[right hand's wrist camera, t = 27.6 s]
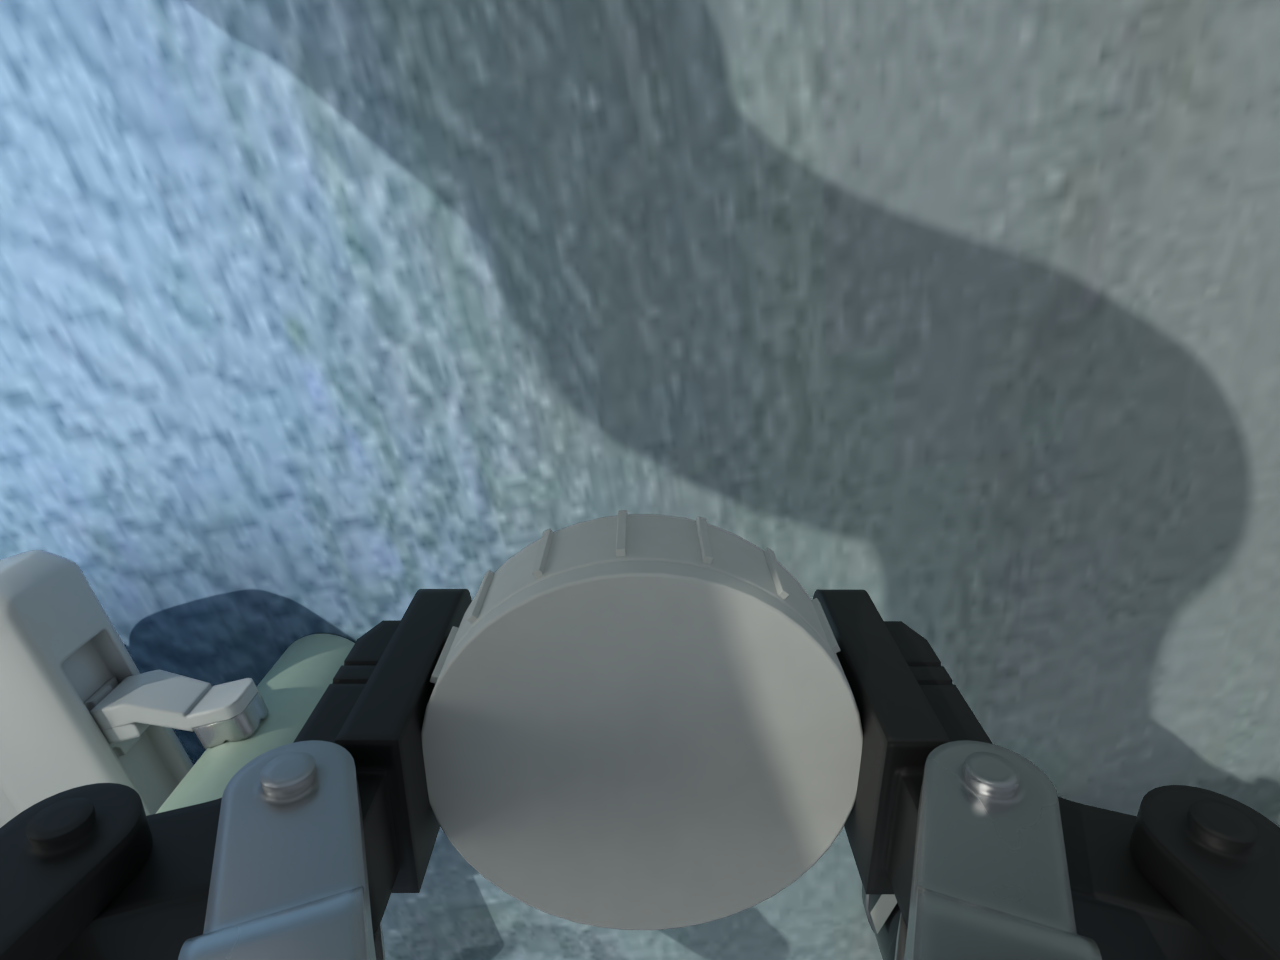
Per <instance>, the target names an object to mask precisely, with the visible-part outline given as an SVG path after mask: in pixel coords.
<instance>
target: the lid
mask: <svg viewBox="0 0 1280 960" xmlns="http://www.w3.org/2000/svg"><path fill="white" fill-rule="evenodd" d="M839 651H840V648H839V646H838V643H837V641H836V639H835V637H834V634H833V632H832V630H831V627H830V625H829V623H828V620H827V618H826V616H825V613H824V611H823V609H822V606H821V604H820V602H819V601H818V599H817V598H815V599H813V600H811V598H810V597H809V596H808V594H807V593H806V592H805V590H804V589H803V588H802V586H801V585H800V584H799V583H798V581H797V580H796V579H795V578H794V577H793V576H792V575H791V574H790V573H789V572H788V571H787V570H786V569H785V568H784V567H783V566H782V565H781V564H780V563H779V562H778V561H777V560H776V557H775V554H774V552H773V551H772V550H770V549H769V548H767V549H766V550H765V551H763V550H762V549H760V548H759V547H757V546H755V545H754V544H752V543H750V542H748V541H746V540H745V539H743V538H741V537H739V536H737V535H735V534H733V533H730V532H728V531H725V530H723V529H720V528H718V527H715V526H713V525H710V524H707V523H706V519H705V518H702V517H697V520H696V521H694V520H690V519H687V518H680V517H673V516H665V515H654V514H629V515H627V510H623V511H619V512H618V516H610V517H603V518H598V519H594V520H590V521H585V522H581V523H577V524H574V525H572V526H569V527H566V528H564V529H561V530H558V531H555V532H552V531H551V529H548V530H546V531H544V532H543V535H542V538H541V539H539V540H537V541H535V542H533V543H532V544H530V545H528V546H527V547H525V548H524V549H523V550H521V551H520V552H518V553H517V554H515V555H514V556H512V557H511V558H510V559H508V560H507V561H506V562H505V563H504V564H503V565H502V566H501V567H500V568H499V569H498V570H497V571H495V572H494V573H493V572H492V571H490V570H489V571H488V572H487V573H486V574H485V575H484V578H483V580H482V583H481V585H480V588H479V590H478V592H477V594H476V595H475V597H474V599H473V600H472V602H471V604H470V605H469V607H468V609H467V610H466V612H465V614H464V616H463V619H462V621H461V624H460V626H459V628H458V627H455V626H453V627H452V629H451V631H450V634H449V636H448V638H447V641H446V643H445V645H444V648H443V650H442V653H441V655H440V657H439V660H438V662H437V664H436V667H435V669H434V671H433V674H432V676H431V679H430V682H431V683H434V684H435V687H434V689H433V692H432V694H431V697H430V699H429V702H428V704H427V707H426V711H425V715H424V720H423V724H422V729H421V738H422V748H423V757H424V765H425V773H426V781H427V789H428V796H429V802H430V805H431V808H432V810H433V812H434V814H435V817H436V819H437V821H438V823H439V825H440V826H441V828H442V829H443V831H444V833H445V834H446V836H447V837H448V839H449V841H450V842H451V843H452V845H453V846H454V847H455V848H456V849H457V851H458V852H459V853H460V854H461V855H462V857H463V858H464V859H465V860H466V861H467V862H468V863H469V864H470V865H471V866H472V867H473V868H474V869H476V870H477V871H478V872H479V873H480V874H481V875H482V876H483V877H484V878H486V879H487V880H488V881H490V882H491V883H493V884H494V885H495V886H497V887H498V888H500V889H501V890H502V891H504V892H505V893H507V894H509V895H511V896H512V897H514V898H516V899H518V900H520V901H521V902H523V903H525V904H527V905H529V906H532V907H534V908H536V909H539V910H541V911H543V912H546V913H548V914H551V915H554V916H557V917H560V918H563V919H567V920H570V921H573V922H577V923H582V924H587V925H592V926H597V927H603V928H613V929H622V930H660V929H672V928H681V927H686V926H692V925H697V924H703V923H707V922H710V921H714V920H717V919H721V918H724V917H728V916H730V915H733V914H735V913H738V912H740V911H743V910H745V909H748V908H750V907H753V906H755V905H757V904H758V903H760V902H762V901H764V900H766V899H768V898H770V897H772V896H774V895H775V894H777V893H778V892H780V891H781V890H783V889H784V888H786V887H787V886H789V885H790V884H792V883H793V882H795V881H796V880H797V879H798V878H799V877H800V876H802V875H803V874H804V873H805V872H806V871H807V870H809V869H810V868H811V867H812V866H813V865H814V864H815V863H816V862H817V861H818V860H819V859H820V857H821V856H822V855H823V854H824V853H825V852H826V851H827V850H828V849H829V847H830V846H831V845H832V843H833V842H834V840H835V839H836V837H837V836H838V834H839V833H840V831H841V830H842V828H843V827H844V825H845V823H846V821H847V818H848V816H849V814H850V812H851V810H852V808H853V806H854V803H855V799H856V792H857V786H858V778H859V770H860V762H861V754H862V745H863V730H862V724H861V719H860V713H859V710H858V707H857V704H856V702H855V699H854V696H853V693H852V690H851V688H850V686H849V683H848V681H847V678H846V676H845V674H844V671H843V669H842V666H841V664H840V662H839V659H838V657H837V655H836V653H837V652H839Z"/></svg>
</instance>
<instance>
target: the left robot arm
mask: <svg viewBox="0 0 1280 960" xmlns="http://www.w3.org/2000/svg"><path fill="white" fill-rule="evenodd" d="M268 712H269V711H268V708H267V706H266V704H265V702H264V700H263V698H262V696H261V694H260V692H259V690H257V688H256V685H255V683H254V681H253V679H252V678H245V679H240V680H236V681H232V682H227V683H223V684H219V685H214V686H212V685H211V683H208V682H204V681H201V680H197V679H193V678H190V677H186V676H182V675H179V674H175V673H171V672H168V671H164V670H160V669H157V670H153V671H149V672H145V673H140V672H139V670H138V668H137V666H136V665H135V663H134V661H133V659H132V658H131V656H130V654H129V653H128V651H127V649H126V647H125V646H124V644H123V642H122V640H121V639H120V637H119V635H118V634H117V632H116V630H115V628H114V627H113V625H112V623H111V621H110V620H109V618H108V616H107V615H106V613H105V611H104V609H103V608H102V606H101V604H100V602H99V601H98V599H97V597H96V596H95V594H94V592H93V590H92V589H91V587H90V585H89V583H88V581H87V580H86V578H85V576H84V574H83V572H82V571H81V569H80V568H79V566H78V565H77V564H76V563H75V562H73V561H71V560H69V559H66V558H64V557H61V556H58V555H55V554H52V553H49V552H46V551H43V550H32V551H28V552H24V553H20V554H17V555H14V556H11V557H8V558H5V559H2V560H0V828H1V827H2V826H3V825H5V824H6V823H7V822H9V821H10V820H11V819H13V818H14V817H15V816H17V815H18V814H20V813H21V812H22V811H24V810H26V809H27V808H29V807H31V806H32V805H34V804H36V803H38V802H40V801H42V800H44V799H46V798H48V797H51V796H53V795H55V794H58V793H60V792H63V791H66V790H69V789H72V788H76V787H80V786H84V785H90V784H96V783H118V784H122V785H126V786H129V787H131V788H132V789H134V790H135V791H136V792H137V793H138V794H139V796H140V798H141V800H142V803H143V807H144V810H145V814H146V816H148V815H152V814H155V813H156V812H157V811H158V810H159V808H160V807H161V806H162V805H163V803H164V802H165V801H166V800H167V798H168V797H169V796H170V795H171V793H172V792H173V791H174V790H175V788H176V787H177V786H178V785H179V783H180V782H181V781H182V780H183V778H184V777H185V776H186V775H187V773H188V772H189V771H190V769H191V768H192V767H193V766H194V765H193V763H192V761H191V760H190V758H189V756H188V754H187V753H186V751H185V749H184V748H183V746H182V744H181V742H180V741H179V739H178V737H177V735H176V734H175V732H174V730H173V729H172V728H174V729H180V730H186V731H192V732H193V731H194V732H195V734H196V735H197V737H198V739H199V740H200V742H201V743H202V745H203V747H204V748H205V749H207V748H211V747H216V746H219V745H222V744H223V743H224V742H225V741H230V742H238V741H241V740H244V739H246V738H248V737H249V736H251V735H252V734H253V733H255V731H256V730H257V729H258V728H259V725H260V720H261V719H265V718H266V716H267V715H268Z"/></svg>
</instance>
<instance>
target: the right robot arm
mask: <svg viewBox="0 0 1280 960" xmlns="http://www.w3.org/2000/svg"><path fill="white" fill-rule="evenodd" d="M815 598H817V599H818V601H819V602H820V604H821V606H822V609H823V611H824V613H825V616H826V618H827V620H828V623H829V625H830V627H831V630H832V632H833V634H834V637H835V639H836V641H837V643H838V646H839V648H840V651H839V652H837V653H836V655H837V657H838V659H839V662H840V664H841V666H842V669H843V671H844V674H845V676H846V678H847V681H848V683H849V686H850V688H851V690H852V693H853V696H854V699H855V702H856V704H857V707H858V710H859V713H860V719H861V724H862V730H863V745H862V754H861V762H860V770H859V778H858V786H857V792H856V799H855V803H854V806H853V808H852V810H851V812H850V814H849V816H848V818H847V821H846V823H845V825H844V827H845V830H846V833H847V836H848V839H849V843H850V846H851V849H852V852H853V855H854V858H855V861H856V864H857V868H858V871H859V874H860V877H861V880H862V883H863V885H862V899H863V904H864V908H865V911H866V914H867V918H868V921H869V923H870V926H871V928H872V930H873V932H874V933H875V936H876V939H877V942H878V945H879V949H880V952H881V955H882V958H883V960H1280V828H1279V827H1278V826H1277V825H1275V824H1274V823H1273V822H1271V821H1270V820H1268V819H1267V818H1266V817H1264V816H1263V815H1261V814H1260V813H1258V812H1257V811H1255V810H1253V809H1252V808H1250V807H1248V806H1246V805H1244V804H1242V803H1240V802H1238V801H1236V800H1234V799H1231V798H1229V797H1227V796H1224V795H1221V794H1218V793H1215V792H1212V791H1209V790H1205V789H1201V788H1197V787H1190V786H1181V785H1170V786H1162V787H1158V788H1155V789H1153V790H1151V791H1149V792H1148V793H1147V794H1146V795H1145V796H1144V798H1143V800H1142V802H1141V805H1140V809H1139V812H1138V815H1137V817H1136V816H1132V815H1127V814H1123V813H1118V812H1114V811H1110V810H1105V809H1101V808H1097V807H1092V806H1088V805H1083V804H1080V803H1076V802H1072V801H1069V800H1066V799H1063V798H1060V797H1058V796H1057V792H1056V790H1055V788H1054V786H1053V784H1052V782H1051V781H1050V780H1049V778H1048V777H1047V776H1046V775H1045V774H1044V773H1043V772H1042V771H1041V770H1040V769H1039V768H1038V767H1037V766H1035V765H1034V764H1033V763H1032V762H1030V761H1029V760H1027V759H1025V758H1024V757H1022V756H1021V755H1019V754H1017V753H1015V752H1013V751H1011V750H1008V749H1005V748H1003V747H1000V746H997V745H993V744H992V742H991V741H990V739H989V738H988V736H987V734H986V733H985V731H984V730H983V728H982V726H981V725H980V723H979V722H978V720H977V719H976V717H975V715H974V714H973V712H972V711H971V709H970V708H969V706H968V704H967V703H966V701H965V700H964V698H963V697H962V695H961V693H960V692H959V690H958V689H957V687H956V685H953V684H952V679H951V678H950V676H949V674H948V673H947V671H946V670H945V668H944V667H943V666H941V662H940V660H939V659H938V657H937V656H936V654H935V652H934V651H933V649H932V648H931V646H930V644H929V643H928V641H927V640H926V639H924V638H923V637H922V636H920V635H919V634H918V633H916V632H915V631H914V630H912V629H911V628H909V627H908V626H907V625H905V624H904V623H903V622H890V621H883V620H882V618H881V616H880V614H879V612H878V611H877V609H876V607H875V605H874V603H873V602H872V600H871V598H870V596H869V595H868V593H867V592H866V591H865V590H816V591H815V593H814V596H813V599H815ZM471 602H472V601H471V596H470V593H469V591H468V590H467V589H419V590H418V591H417V593H416V594H415V596H414V598H413V600H412V602H411V603H410V605H409V607H408V609H407V611H406V612H405V614H404V616H403V618H402V620H401V621H382V622H381V623H379V624H378V625H376V626H375V627H374V628H372V629H371V630H370V631H368V632H367V633H366V634H364V635H363V636H362V637H360V638H359V639H358V640H357V641H356V643H355V644H354V646H353V648H352V649H351V651H350V652H349V654H348V656H347V657H346V659H345V660H344V665H341V667H340V668H339V670H338V672H337V673H336V675H335V676H334V678H333V683H332V684H329V686H328V688H327V689H326V691H325V692H324V694H323V696H322V697H321V699H320V700H319V702H318V704H317V705H316V707H315V708H314V710H313V712H312V713H311V715H310V716H309V718H308V720H307V721H306V723H305V724H304V726H303V728H302V729H301V731H300V732H299V734H298V736H297V737H296V739H295V740H294V742H293V743H290V744H287V745H283V746H280V747H277V748H275V749H272V750H269V751H267V752H265V753H263V754H261V755H259V756H258V757H256V758H255V759H253V760H251V761H250V762H248V763H247V764H246V765H245V766H243V767H242V768H241V769H240V770H239V771H238V772H237V773H236V774H235V775H234V776H233V777H232V778H231V780H230V781H229V782H228V784H227V786H226V788H225V790H224V792H223V796H222V798H219V799H216V800H212V801H208V802H205V803H200V804H196V805H192V806H187V807H183V808H178V809H174V810H170V811H165V812H161V813H157V814H152V815H148V816H146V814H145V810H144V807H143V803H142V800H141V798H140V796H139V794H138V793H137V792H136V791H135V790H134V789H132V788H131V787H129V786H126V785H122V784H118V783H96V784H90V785H84V786H80V787H76V788H72V789H69V790H66V791H63V792H60V793H58V794H55V795H53V796H51V797H48V798H46V799H44V800H42V801H40V802H38V803H36V804H34V805H32V806H31V807H29V808H27V809H26V810H24V811H22V812H21V813H20V814H18V815H17V816H15V817H14V818H13V819H11V820H10V821H9V822H7V823H6V824H5V825H3V826H2V827H1V828H0V960H386V959H385V950H384V940H383V933H382V927H381V920H382V917H383V914H384V911H385V908H386V906H387V903H388V900H389V897H390V894H391V893H419V892H420V889H421V885H422V882H423V879H424V876H425V873H426V869H427V866H428V863H429V860H430V857H431V853H432V850H433V847H434V844H435V841H436V837H437V834H438V831H439V828H440V825H439V823H438V821H437V819H436V817H435V814H434V812H433V810H432V808H431V805H430V802H429V796H428V789H427V781H426V773H425V765H424V757H423V748H422V738H421V729H422V724H423V720H424V715H425V711H426V707H427V704H428V702H429V699H430V697H431V694H432V692H433V689H434V687H435V684H434V683H431V682H430V679H431V676H432V674H433V671H434V669H435V667H436V664H437V662H438V660H439V657H440V655H441V653H442V650H443V648H444V645H445V643H446V641H447V638H448V636H449V634H450V631H451V629H452V627H453V626H455V627H458V628H459V626H460V624H461V621H462V619H463V616H464V614H465V612H466V610H467V609H468V607H469V605H470V604H471Z"/></svg>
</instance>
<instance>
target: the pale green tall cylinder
mask: <svg viewBox="0 0 1280 960" xmlns="http://www.w3.org/2000/svg"><path fill="white" fill-rule="evenodd" d="M354 644H355V643H354V642H352V641H350V640H348V639H346V638H343V637H341V636H337V635H332V634H312V635H308V636H305V637H302V638H300V639H298V640H296V641H295V642H293V643H292V644H291V645H290V646H289V647H288V648H287V649H286V650H285V652H284V653H283V654H282V656H281V657H280V658H279V659H278V661H277V662H276V663H275V664H274V666H273V667H272V668H271V669H270V671H269V672H268V673H267V674H266V676H265V677H264V678H263V679H262V681H261V682H260V683H259V684H258V686H257V687H256V688H257V690H259V692H260V694H261V696H262V698H263V700H264V702H265V704H266V706H267V708H268V711H269V712H268V715H267V716H266V718H265V719H261V720H260V725H259V728H258V729H257V730H256V731H255V733H253V734H252V735H251V736H249V737H248V738H246V739H244V740H241V741H238V742H230V741H225V742H224V743H223V744H222V745H219V746H216V747H211V748H207V749H206V751H205V752H204V753H203V754H202V756H201V757H200V758H199V759H198V761H197V762H196V763H195V764H194V766H193V767H192V768H191V769H190V771H189V772H188V773H187V775H186V776H185V777H184V778H183V780H182V781H181V782H180V783H179V785H178V786H177V787H176V788H175V790H174V791H173V792H172V793H171V795H170V796H169V797H168V798H167V800H166V801H165V802H164V803H163V805H162V806H161V807H160V808H159V810H158V811H157V812H156V813H155V814H157V813H161V812H165V811H170V810H174V809H178V808H183V807H187V806H192V805H196V804H200V803H205V802H208V801H212V800H216V799H219V798H222V796H223V792H224V790H225V788H226V786H227V784H228V782H229V781H230V780H231V778H232V777H233V776H234V775H235V774H236V773H237V772H238V771H239V770H240V769H241V768H242V767H243V766H245V765H246V764H247V763H248V762H250V761H251V760H253V759H255V758H256V757H258V756H259V755H261V754H263V753H265V752H267V751H269V750H272V749H275V748H277V747H280V746H283V745H287V744H290V743H293V742H294V740H295V739H296V737H297V736H298V734H299V732H300V731H301V729H302V728H303V726H304V724H305V723H306V721H307V720H308V718H309V716H310V715H311V713H312V712H313V710H314V708H315V707H316V705H317V704H318V702H319V700H320V699H321V697H322V696H323V694H324V692H325V691H326V689H327V688H328V686H329V684H332V683H333V678H334V676H335V675H336V673H337V672H338V670H339V668H340V667H341V665H344V660H345V659H346V657H347V656H348V654H349V652H350V651H351V649H352V648H353V646H354Z"/></svg>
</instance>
